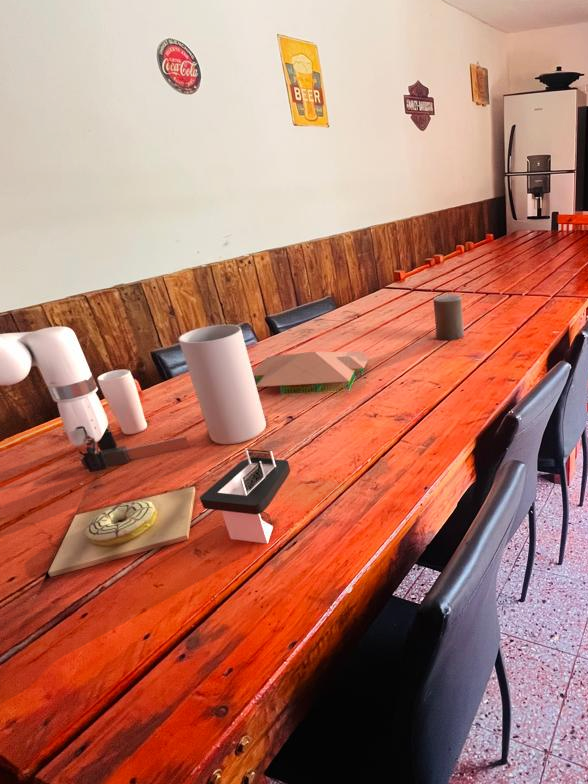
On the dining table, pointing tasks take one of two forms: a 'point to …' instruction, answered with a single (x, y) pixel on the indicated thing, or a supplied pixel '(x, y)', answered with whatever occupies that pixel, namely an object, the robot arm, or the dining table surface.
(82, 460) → the knife
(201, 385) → the cylinder vase
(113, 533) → the decorated donut
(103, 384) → the white mug
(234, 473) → the black-topped pedestal
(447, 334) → the pillar candle
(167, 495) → the cutting board
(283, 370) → the house
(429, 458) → the dining table surface
